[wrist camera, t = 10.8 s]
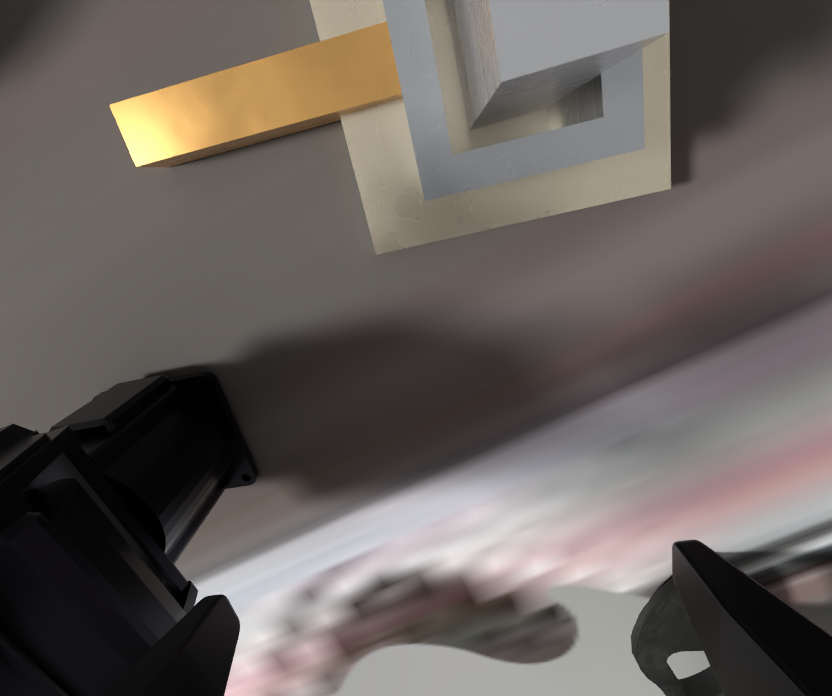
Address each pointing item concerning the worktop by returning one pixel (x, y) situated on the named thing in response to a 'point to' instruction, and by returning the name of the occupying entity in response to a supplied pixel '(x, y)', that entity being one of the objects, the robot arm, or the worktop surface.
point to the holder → (669, 645)
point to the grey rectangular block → (542, 49)
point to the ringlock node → (421, 125)
